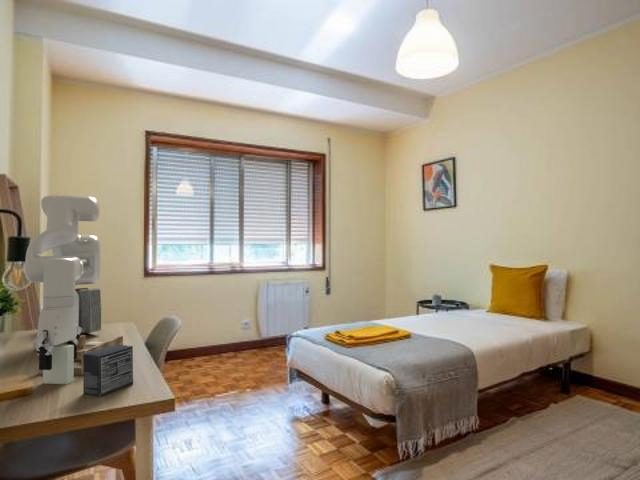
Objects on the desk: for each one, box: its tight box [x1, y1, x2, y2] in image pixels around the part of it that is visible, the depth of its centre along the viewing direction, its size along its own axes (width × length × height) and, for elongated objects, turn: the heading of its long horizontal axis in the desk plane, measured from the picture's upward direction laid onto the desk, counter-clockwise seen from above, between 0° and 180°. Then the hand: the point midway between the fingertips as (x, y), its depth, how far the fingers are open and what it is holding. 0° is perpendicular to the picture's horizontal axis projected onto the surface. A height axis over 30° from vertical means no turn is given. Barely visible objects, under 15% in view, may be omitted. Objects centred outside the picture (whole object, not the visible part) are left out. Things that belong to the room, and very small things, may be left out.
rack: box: [38, 334, 124, 376], centre depth 128 cm, size 20×14×7 cm
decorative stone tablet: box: [75, 287, 102, 335], centre depth 176 cm, size 19×6×30 cm
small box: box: [82, 344, 134, 398], centre depth 107 cm, size 11×6×10 cm, turn 157°
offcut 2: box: [84, 341, 104, 350], centre depth 134 cm, size 4×7×2 cm, turn 87°
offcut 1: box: [75, 349, 84, 361], centre depth 135 cm, size 4×5×3 cm
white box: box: [42, 345, 75, 385], centre depth 112 cm, size 2×7×10 cm, turn 86°
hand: (58, 364), depth 112 cm, fingers open, 9 cm apart
